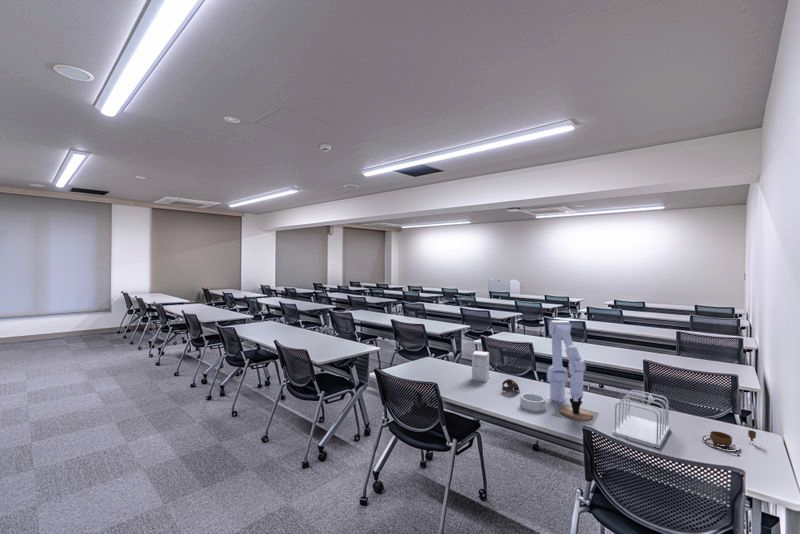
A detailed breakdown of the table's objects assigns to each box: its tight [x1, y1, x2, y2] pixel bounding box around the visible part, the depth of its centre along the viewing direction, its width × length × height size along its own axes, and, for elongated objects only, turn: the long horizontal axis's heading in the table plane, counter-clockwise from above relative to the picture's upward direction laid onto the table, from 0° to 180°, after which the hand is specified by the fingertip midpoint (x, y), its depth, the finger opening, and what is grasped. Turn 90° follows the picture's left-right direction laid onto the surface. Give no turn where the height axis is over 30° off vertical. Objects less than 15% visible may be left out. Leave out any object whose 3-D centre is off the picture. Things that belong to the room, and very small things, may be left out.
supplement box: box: [471, 350, 490, 382], centre depth 238 cm, size 10×9×17 cm
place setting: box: [702, 429, 757, 447], centre depth 155 cm, size 18×20×6 cm
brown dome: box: [501, 378, 520, 394], centre depth 216 cm, size 12×10×8 cm
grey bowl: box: [520, 392, 547, 412], centre depth 194 cm, size 12×12×5 cm
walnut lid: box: [560, 405, 593, 421], centre depth 185 cm, size 15×15×4 cm
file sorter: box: [612, 389, 671, 449], centre depth 167 cm, size 25×17×16 cm
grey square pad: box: [552, 403, 600, 426], centre depth 185 cm, size 18×18×1 cm
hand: (575, 410), depth 185 cm, fingers open, 7 cm apart
